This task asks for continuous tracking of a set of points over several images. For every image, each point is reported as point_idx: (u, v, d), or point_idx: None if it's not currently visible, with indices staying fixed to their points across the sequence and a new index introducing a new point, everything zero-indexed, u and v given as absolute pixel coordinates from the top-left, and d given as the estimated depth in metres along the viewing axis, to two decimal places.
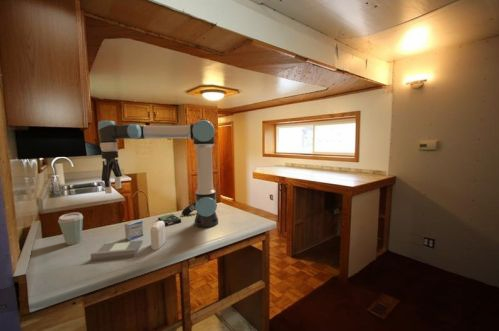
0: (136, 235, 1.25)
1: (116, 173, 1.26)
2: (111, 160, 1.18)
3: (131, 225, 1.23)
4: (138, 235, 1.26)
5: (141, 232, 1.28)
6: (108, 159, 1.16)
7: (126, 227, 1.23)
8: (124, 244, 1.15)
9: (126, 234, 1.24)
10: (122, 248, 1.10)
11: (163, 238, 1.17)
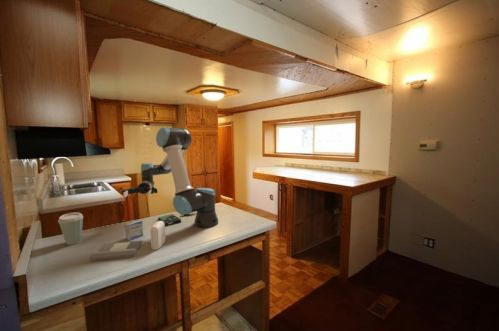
0: (136, 235, 1.25)
1: (150, 190, 1.43)
2: None
3: (131, 225, 1.23)
4: (138, 235, 1.26)
5: (141, 232, 1.28)
6: None
7: (126, 227, 1.23)
8: (124, 244, 1.15)
9: (126, 234, 1.24)
10: (122, 248, 1.10)
11: (163, 238, 1.17)
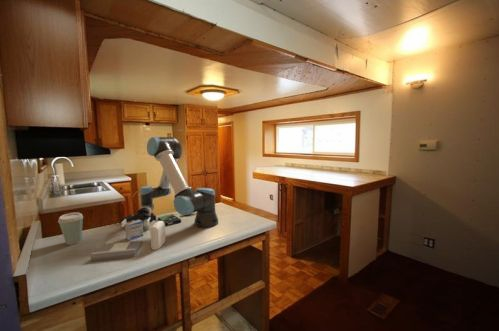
0: (136, 235, 1.25)
1: (148, 218, 1.40)
2: None
3: (131, 225, 1.23)
4: (138, 235, 1.26)
5: (141, 232, 1.28)
6: None
7: (126, 227, 1.23)
8: (124, 244, 1.15)
9: (126, 234, 1.24)
10: (122, 248, 1.10)
11: (163, 238, 1.17)
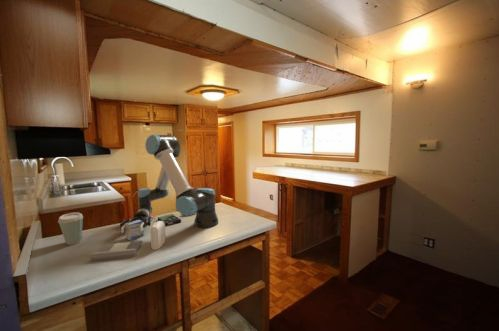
0: (136, 234, 1.25)
1: (143, 223, 1.31)
2: (136, 217, 1.39)
3: (131, 225, 1.23)
4: (138, 235, 1.26)
5: (141, 232, 1.28)
6: (132, 218, 1.38)
7: (126, 227, 1.23)
8: (124, 244, 1.15)
9: (126, 234, 1.24)
10: (122, 248, 1.10)
11: (163, 238, 1.17)
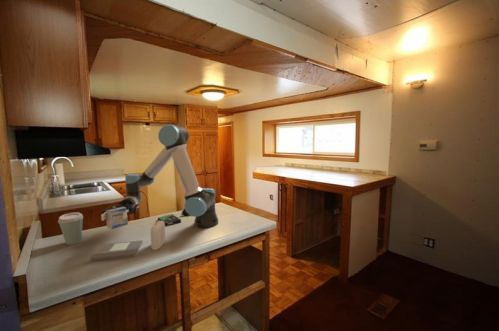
0: (119, 223, 1.10)
1: None
2: None
3: (113, 212, 1.07)
4: (122, 224, 1.11)
5: (125, 220, 1.12)
6: (117, 206, 1.23)
7: (107, 214, 1.07)
8: (124, 244, 1.15)
9: (107, 222, 1.08)
10: (122, 248, 1.10)
11: (163, 238, 1.17)
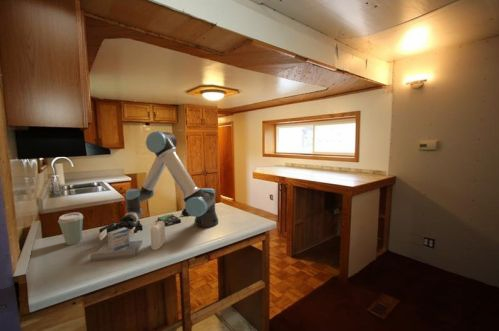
0: (120, 244, 1.10)
1: None
2: None
3: (115, 234, 1.07)
4: (123, 245, 1.11)
5: (127, 241, 1.13)
6: None
7: (109, 236, 1.08)
8: None
9: (109, 244, 1.08)
10: (122, 248, 1.10)
11: (163, 238, 1.17)
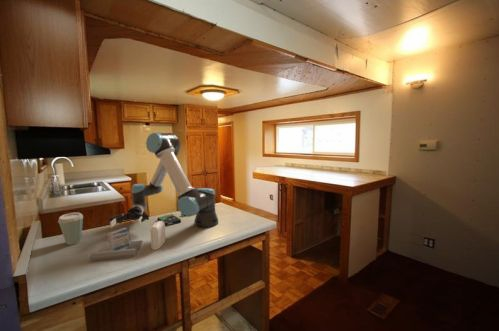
0: (120, 244, 1.10)
1: (140, 217, 1.30)
2: None
3: (115, 234, 1.07)
4: (123, 245, 1.11)
5: (127, 241, 1.13)
6: None
7: (109, 236, 1.08)
8: None
9: (109, 244, 1.08)
10: (122, 248, 1.10)
11: (163, 238, 1.17)
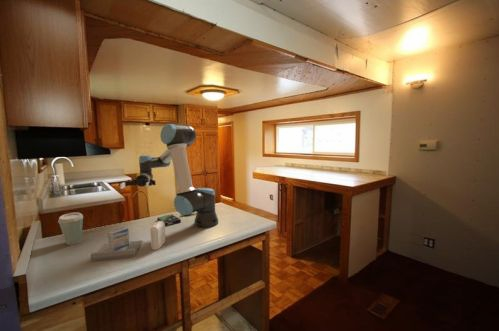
0: (120, 244, 1.10)
1: None
2: None
3: (115, 234, 1.07)
4: (123, 245, 1.11)
5: (127, 241, 1.13)
6: None
7: (109, 236, 1.08)
8: None
9: (109, 244, 1.08)
10: (122, 248, 1.10)
11: (163, 238, 1.17)
